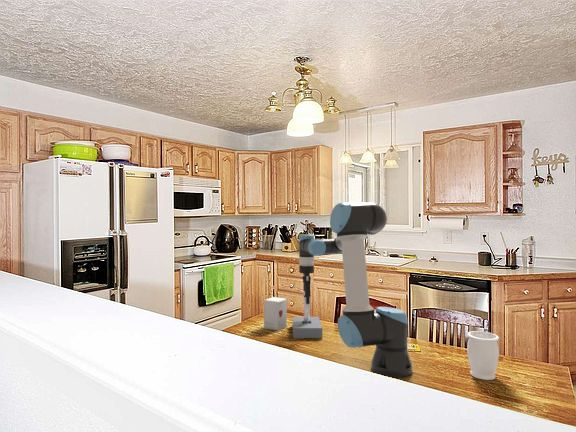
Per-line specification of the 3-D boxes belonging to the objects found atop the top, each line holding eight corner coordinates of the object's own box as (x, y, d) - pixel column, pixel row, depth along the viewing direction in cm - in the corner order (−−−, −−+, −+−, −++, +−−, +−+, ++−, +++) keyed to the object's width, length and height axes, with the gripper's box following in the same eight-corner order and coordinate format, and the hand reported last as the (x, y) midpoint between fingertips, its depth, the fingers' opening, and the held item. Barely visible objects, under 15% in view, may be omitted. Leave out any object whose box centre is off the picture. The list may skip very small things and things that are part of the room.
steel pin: (309, 332, 188) (310, 303, 188) (303, 332, 188) (304, 303, 188) (309, 331, 191) (309, 301, 191) (303, 331, 191) (303, 301, 191)
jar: (471, 367, 145) (471, 328, 145) (501, 374, 139) (501, 334, 139) (463, 376, 137) (463, 335, 137) (495, 384, 131) (495, 341, 131)
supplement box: (277, 331, 191) (277, 301, 191) (263, 328, 196) (263, 299, 196) (287, 326, 199) (287, 298, 199) (273, 324, 204) (273, 296, 204)
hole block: (322, 338, 180) (322, 328, 180) (293, 338, 180) (293, 328, 180) (318, 326, 200) (318, 316, 200) (292, 326, 200) (292, 316, 200)
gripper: (298, 262, 202) (298, 301, 202) (300, 268, 177) (300, 313, 177) (312, 262, 202) (312, 301, 202) (316, 268, 177) (316, 313, 177)
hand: (306, 307), depth 189 cm, fingers open, 13 cm apart
